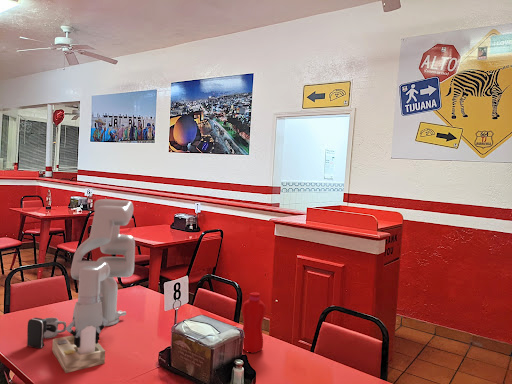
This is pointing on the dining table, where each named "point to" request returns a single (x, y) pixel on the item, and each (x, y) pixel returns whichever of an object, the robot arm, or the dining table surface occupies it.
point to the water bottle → (253, 322)
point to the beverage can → (87, 340)
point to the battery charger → (36, 332)
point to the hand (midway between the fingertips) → (86, 343)
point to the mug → (53, 327)
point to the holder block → (76, 355)
